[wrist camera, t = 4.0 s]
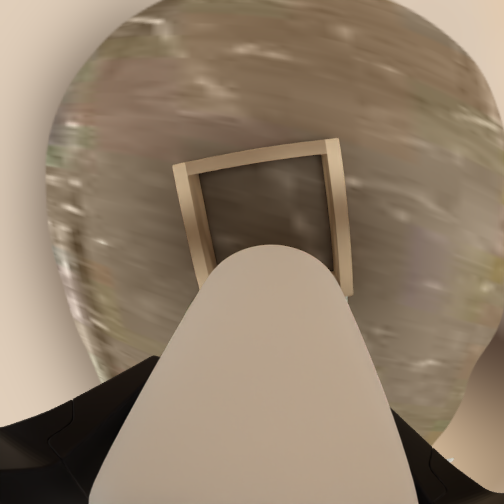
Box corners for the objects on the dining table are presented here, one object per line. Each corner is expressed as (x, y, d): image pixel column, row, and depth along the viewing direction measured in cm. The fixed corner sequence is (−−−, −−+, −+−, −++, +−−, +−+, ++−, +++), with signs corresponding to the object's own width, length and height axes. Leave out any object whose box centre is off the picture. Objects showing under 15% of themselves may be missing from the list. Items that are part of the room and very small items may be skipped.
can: (181, 331, 14) (65, 558, 3) (239, 213, 12) (27, 537, 1) (295, 383, 14) (295, 611, 3) (369, 283, 13) (503, 548, 1)
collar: (345, 279, 20) (353, 295, 18) (213, 296, 22) (205, 312, 19) (331, 140, 18) (338, 138, 15) (184, 163, 19) (172, 165, 17)
